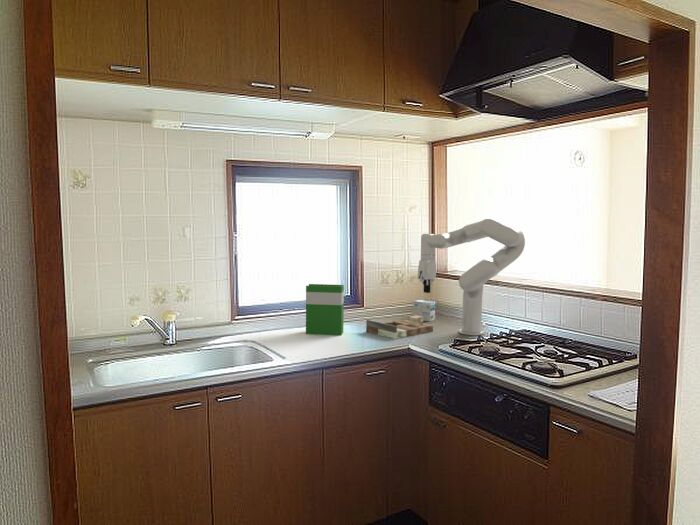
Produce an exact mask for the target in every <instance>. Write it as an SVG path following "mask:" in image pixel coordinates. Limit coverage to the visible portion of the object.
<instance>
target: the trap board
mask: <svg viewBox="0 0 700 525" xmlns="http://www.w3.org/2000/svg"><path fill="white" fill-rule="evenodd" d="M365 321H366V322H365V323H366V326H365V328H366V330H365V332H366V333H368V332H369V333H370V334H374V335H377V334H378V336H381V335H382V336H381V337H385V336H386V337H385V338H389V337H391V338H390V339H393V338H395V339H394V340H397V339H396V338H398V339H402V338H401V337H403V338H407V337H411V335H412V336H416V335H415V334H417V335H421V334H420V333H422V334H426V333H425V332H427V333H431V332H433V331H434V325H433V324H427V323H424V322H423V325H418V326H415V325H410V324H409V319H399V320H394V321H393V320H392V321H387V322H379V321H374V320H370V319H366V320H365ZM430 331H431V332H430ZM406 336H407V337H406Z"/></svg>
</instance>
